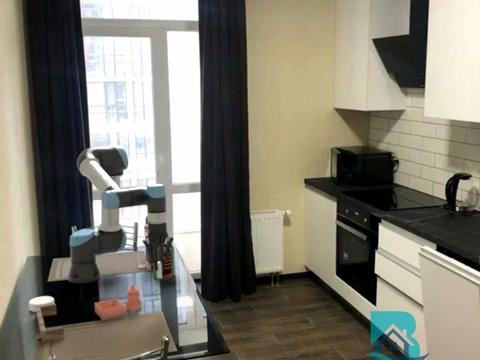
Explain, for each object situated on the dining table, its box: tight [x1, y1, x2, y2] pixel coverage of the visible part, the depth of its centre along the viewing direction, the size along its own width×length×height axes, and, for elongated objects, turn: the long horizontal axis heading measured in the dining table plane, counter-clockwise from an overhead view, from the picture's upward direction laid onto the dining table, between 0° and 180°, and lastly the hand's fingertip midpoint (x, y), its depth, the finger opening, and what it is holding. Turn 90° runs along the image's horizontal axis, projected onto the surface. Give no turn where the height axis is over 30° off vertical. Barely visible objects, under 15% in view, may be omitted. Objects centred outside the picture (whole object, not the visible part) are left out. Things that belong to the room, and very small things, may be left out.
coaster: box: [28, 295, 55, 313], centre depth 217 cm, size 10×10×4 cm
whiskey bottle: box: [144, 228, 166, 273], centre depth 266 cm, size 10×10×32 cm
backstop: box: [35, 303, 65, 343], centre depth 198 cm, size 26×8×4 cm, turn 25°
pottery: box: [94, 284, 143, 321], centre depth 212 cm, size 18×10×10 cm, turn 124°
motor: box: [153, 242, 174, 281], centre depth 253 cm, size 10×9×20 cm
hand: (159, 277), depth 216 cm, fingers closed
